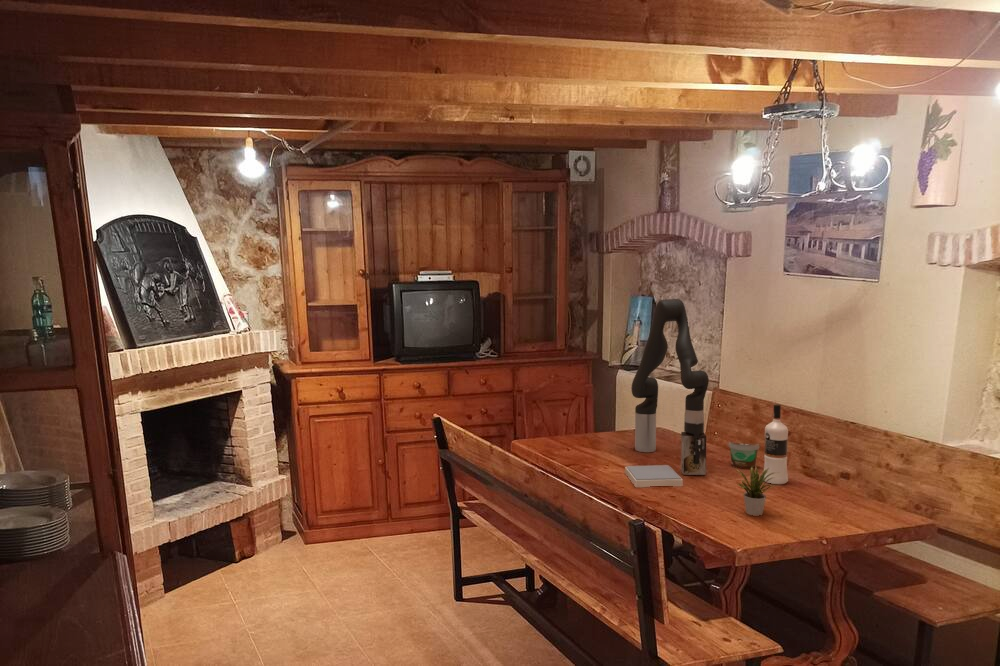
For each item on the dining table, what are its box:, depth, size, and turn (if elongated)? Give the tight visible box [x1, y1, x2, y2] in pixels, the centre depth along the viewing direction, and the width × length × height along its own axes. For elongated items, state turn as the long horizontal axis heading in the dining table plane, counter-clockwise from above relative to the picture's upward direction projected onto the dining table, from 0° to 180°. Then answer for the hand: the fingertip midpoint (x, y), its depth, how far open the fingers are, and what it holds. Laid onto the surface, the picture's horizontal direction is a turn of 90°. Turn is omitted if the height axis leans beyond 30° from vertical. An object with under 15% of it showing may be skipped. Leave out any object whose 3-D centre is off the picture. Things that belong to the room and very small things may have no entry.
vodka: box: [762, 403, 789, 485], centre depth 267 cm, size 9×9×30 cm
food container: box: [727, 441, 761, 470], centre depth 287 cm, size 12×6×10 cm, turn 68°
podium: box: [624, 464, 684, 488], centre depth 273 cm, size 18×18×3 cm
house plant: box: [735, 465, 777, 517], centre depth 233 cm, size 14×14×16 cm
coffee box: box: [680, 431, 707, 476], centre depth 279 cm, size 9×6×16 cm
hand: (693, 461), depth 279 cm, fingers closed on coffee box, 7 cm apart
